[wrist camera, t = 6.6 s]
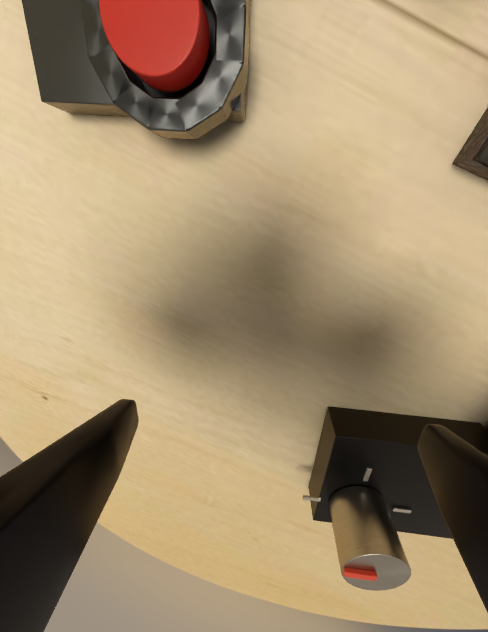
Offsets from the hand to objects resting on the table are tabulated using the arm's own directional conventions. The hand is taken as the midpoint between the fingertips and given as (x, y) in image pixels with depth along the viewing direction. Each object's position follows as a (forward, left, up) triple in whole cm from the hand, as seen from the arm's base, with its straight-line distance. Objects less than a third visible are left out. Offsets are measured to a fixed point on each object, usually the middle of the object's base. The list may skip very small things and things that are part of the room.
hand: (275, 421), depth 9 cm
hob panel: (-11, +14, -11) cm, 21 cm away
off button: (+6, -12, -8) cm, 15 cm away
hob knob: (-8, +16, -8) cm, 20 cm away
